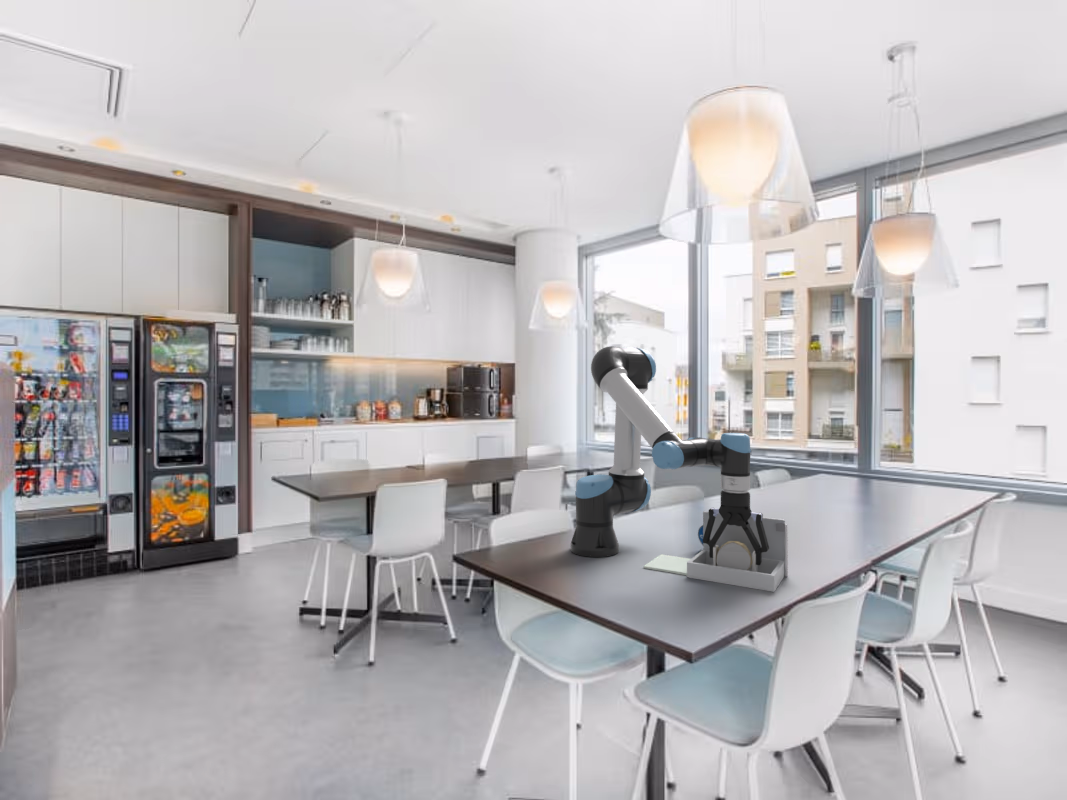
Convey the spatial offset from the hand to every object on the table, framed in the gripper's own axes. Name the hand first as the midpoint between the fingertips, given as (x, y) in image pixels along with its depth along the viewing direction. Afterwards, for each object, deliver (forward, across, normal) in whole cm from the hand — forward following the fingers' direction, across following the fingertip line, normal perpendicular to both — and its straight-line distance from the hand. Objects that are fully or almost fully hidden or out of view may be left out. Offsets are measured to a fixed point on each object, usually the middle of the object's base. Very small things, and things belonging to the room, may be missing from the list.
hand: (734, 573), depth 154 cm
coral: (0, 0, 0) cm, 1 cm away
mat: (+1, -17, +1) cm, 17 cm away
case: (+1, 0, 0) cm, 1 cm away
